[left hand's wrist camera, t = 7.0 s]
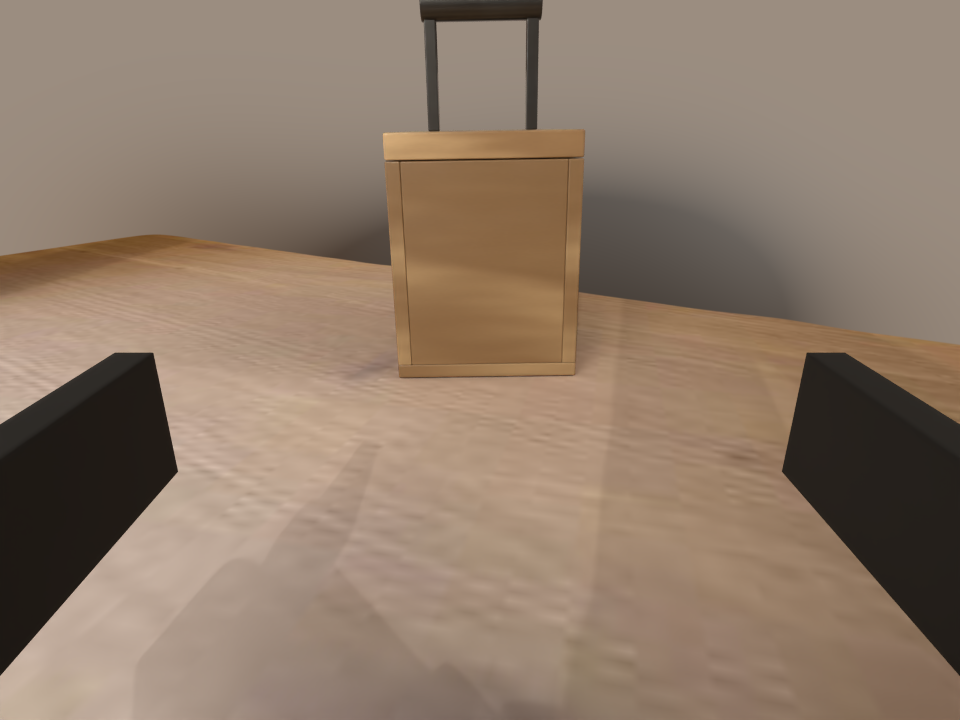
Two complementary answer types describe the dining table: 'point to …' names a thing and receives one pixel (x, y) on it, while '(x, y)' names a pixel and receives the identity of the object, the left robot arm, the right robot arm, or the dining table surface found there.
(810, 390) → the left robot arm
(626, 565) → the dining table surface
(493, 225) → the chest
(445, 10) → the lid
